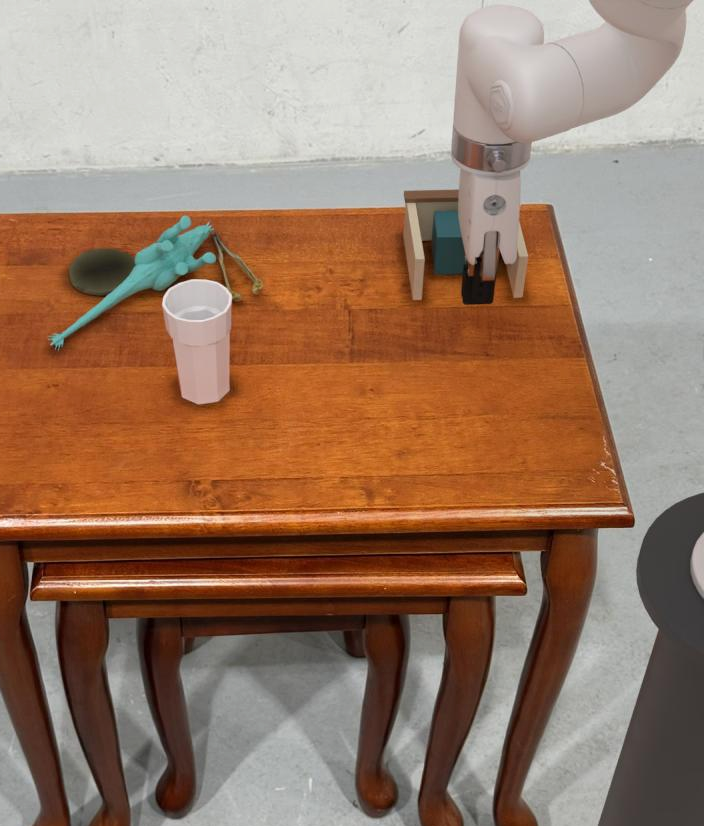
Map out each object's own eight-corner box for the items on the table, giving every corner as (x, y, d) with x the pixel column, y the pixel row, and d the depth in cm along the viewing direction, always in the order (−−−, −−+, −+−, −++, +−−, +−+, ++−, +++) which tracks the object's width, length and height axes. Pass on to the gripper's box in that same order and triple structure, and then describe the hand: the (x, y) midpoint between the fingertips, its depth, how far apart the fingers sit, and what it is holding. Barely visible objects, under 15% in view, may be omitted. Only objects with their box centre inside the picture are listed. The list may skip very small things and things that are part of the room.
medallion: (97, 239, 146) (98, 244, 147) (53, 277, 142) (54, 282, 142) (154, 261, 143) (154, 267, 144) (110, 301, 139) (111, 306, 140)
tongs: (222, 232, 148) (218, 219, 147) (268, 296, 140) (265, 282, 139) (189, 246, 148) (185, 233, 146) (233, 311, 139) (230, 297, 138)
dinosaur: (222, 187, 140) (189, 207, 147) (54, 309, 128) (26, 325, 134) (252, 233, 142) (219, 251, 148) (89, 358, 130) (60, 371, 136)
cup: (229, 413, 127) (223, 325, 119) (164, 405, 128) (154, 317, 120) (243, 370, 132) (238, 283, 124) (180, 362, 132) (172, 275, 125)
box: (497, 274, 143) (501, 236, 139) (434, 274, 143) (437, 237, 139) (492, 248, 146) (496, 210, 143) (431, 248, 146) (433, 210, 143)
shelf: (524, 297, 140) (531, 251, 135) (410, 300, 140) (413, 254, 135) (508, 233, 148) (514, 187, 144) (401, 236, 148) (403, 190, 144)
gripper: (543, 183, 116) (523, 343, 129) (519, 102, 127) (502, 257, 140) (461, 186, 116) (448, 345, 129) (443, 105, 127) (433, 260, 140)
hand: (476, 299), depth 134 cm, fingers closed
